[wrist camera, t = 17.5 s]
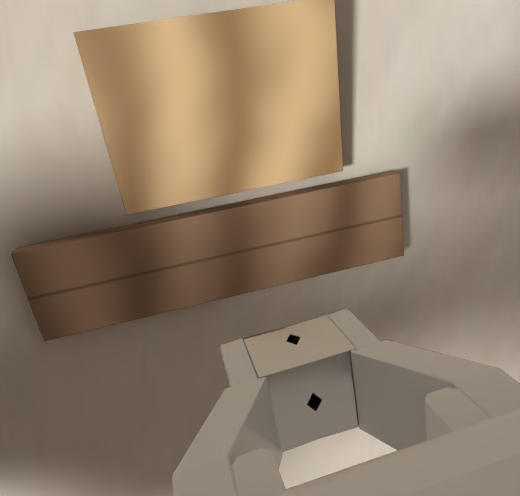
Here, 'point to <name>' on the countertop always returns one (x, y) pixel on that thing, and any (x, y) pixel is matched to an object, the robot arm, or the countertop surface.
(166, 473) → the countertop surface
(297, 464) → the countertop surface
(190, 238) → the walnut floorboard
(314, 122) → the oak plank
